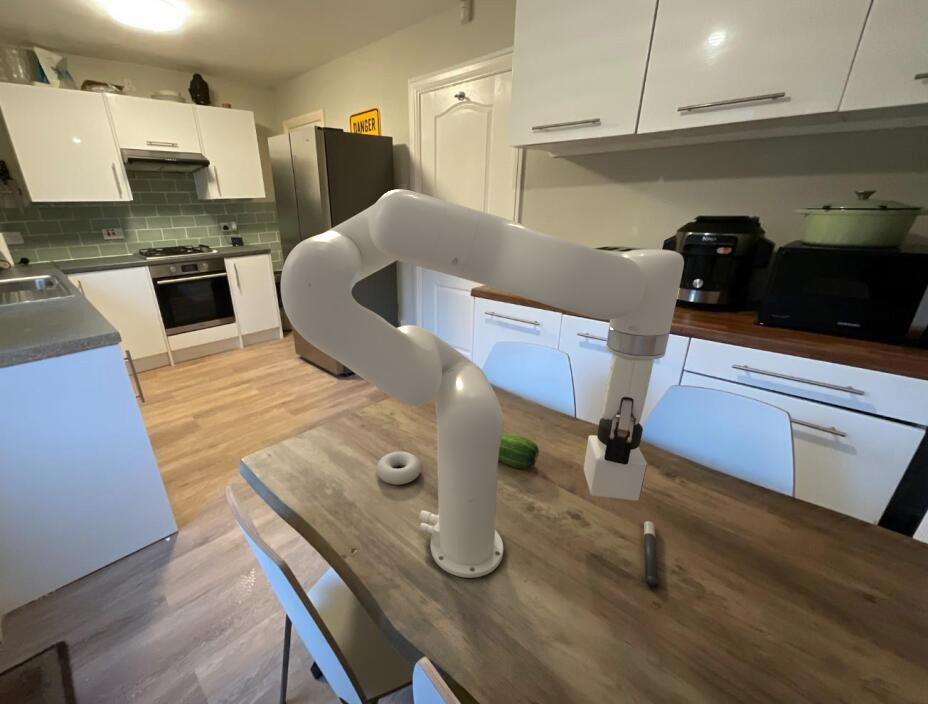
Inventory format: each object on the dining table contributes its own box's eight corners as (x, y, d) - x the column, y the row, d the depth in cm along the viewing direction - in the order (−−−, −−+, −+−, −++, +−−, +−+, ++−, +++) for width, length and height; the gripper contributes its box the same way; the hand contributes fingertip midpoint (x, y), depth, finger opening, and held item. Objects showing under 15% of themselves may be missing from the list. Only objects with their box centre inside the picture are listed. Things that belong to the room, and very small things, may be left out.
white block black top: (639, 502, 63) (654, 435, 58) (590, 496, 64) (601, 431, 60) (627, 473, 69) (640, 411, 65) (582, 469, 71) (592, 408, 66)
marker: (652, 590, 63) (661, 586, 62) (643, 582, 63) (651, 578, 62) (649, 530, 74) (656, 526, 73) (641, 523, 74) (648, 519, 73)
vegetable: (534, 442, 86) (457, 415, 98) (526, 475, 86) (449, 444, 98) (546, 442, 92) (472, 417, 104) (538, 473, 92) (465, 444, 104)
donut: (388, 457, 98) (369, 482, 89) (388, 445, 96) (367, 468, 88) (427, 466, 94) (411, 492, 85) (427, 453, 93) (410, 478, 84)
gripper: (610, 322, 66) (595, 418, 73) (603, 357, 52) (585, 472, 58) (663, 327, 63) (642, 426, 69) (671, 365, 48) (644, 486, 55)
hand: (616, 447), depth 64 cm, fingers closed on white block black top, 7 cm apart
